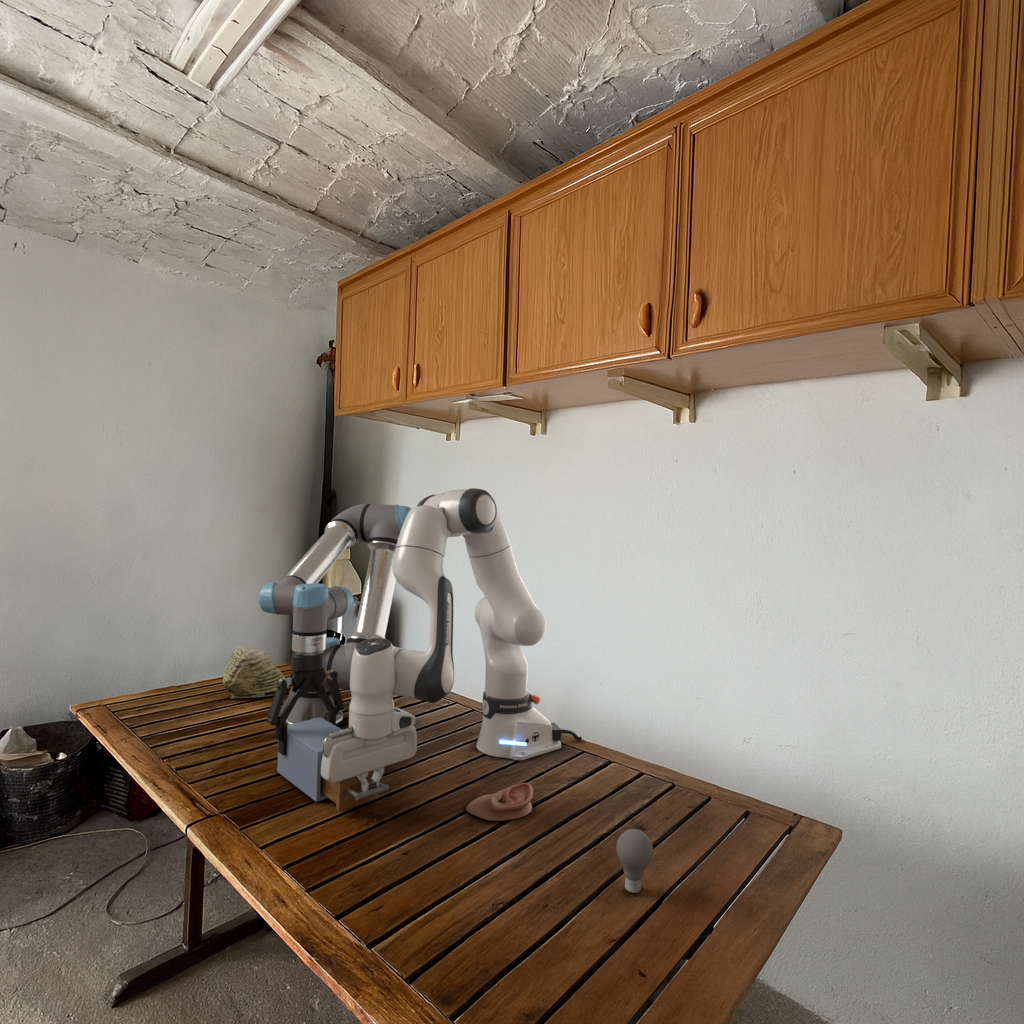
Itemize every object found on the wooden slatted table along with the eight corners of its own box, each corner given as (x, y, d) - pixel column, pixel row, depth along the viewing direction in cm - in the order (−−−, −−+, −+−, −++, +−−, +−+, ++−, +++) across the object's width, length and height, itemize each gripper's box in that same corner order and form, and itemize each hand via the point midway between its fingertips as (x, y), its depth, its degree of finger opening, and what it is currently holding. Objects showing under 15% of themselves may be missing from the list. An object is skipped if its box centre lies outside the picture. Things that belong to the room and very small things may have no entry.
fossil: (218, 695, 195) (220, 647, 195) (278, 685, 208) (279, 640, 207) (228, 703, 189) (230, 653, 188) (289, 692, 201) (290, 645, 201)
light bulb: (610, 879, 108) (613, 822, 108) (644, 879, 109) (647, 822, 109) (619, 902, 102) (622, 840, 102) (655, 901, 103) (658, 840, 103)
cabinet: (360, 787, 138) (362, 740, 138) (316, 802, 131) (317, 752, 131) (319, 760, 152) (320, 717, 152) (277, 771, 145) (278, 726, 145)
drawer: (393, 807, 128) (394, 765, 128) (352, 821, 122) (354, 778, 122) (336, 769, 145) (337, 733, 145) (298, 781, 138) (299, 742, 138)
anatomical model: (462, 797, 127) (476, 773, 139) (461, 816, 128) (476, 791, 139) (527, 806, 125) (536, 781, 136) (526, 826, 125) (535, 800, 136)
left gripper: (266, 662, 135) (263, 765, 135) (361, 648, 151) (358, 740, 151) (252, 655, 140) (249, 754, 141) (345, 642, 156) (342, 731, 157)
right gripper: (331, 740, 117) (330, 813, 117) (422, 715, 131) (420, 780, 132) (315, 730, 121) (314, 801, 122) (404, 707, 136) (402, 770, 136)
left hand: (305, 747), depth 146 cm, fingers closed on cabinet, 10 cm apart
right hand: (369, 790), depth 127 cm, fingers closed, pressing on drawer
